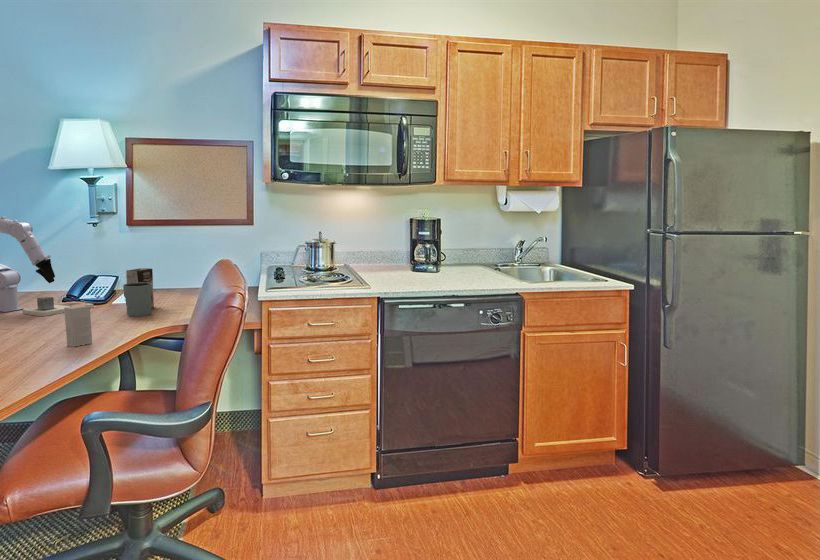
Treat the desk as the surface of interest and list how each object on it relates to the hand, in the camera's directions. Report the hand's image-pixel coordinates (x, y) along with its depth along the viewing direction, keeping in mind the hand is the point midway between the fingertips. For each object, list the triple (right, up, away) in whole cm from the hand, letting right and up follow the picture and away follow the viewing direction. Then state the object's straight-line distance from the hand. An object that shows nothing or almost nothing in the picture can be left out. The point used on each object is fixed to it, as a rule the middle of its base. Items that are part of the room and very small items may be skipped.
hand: (52, 280), depth 256 cm
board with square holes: (+1, -12, +3) cm, 12 cm away
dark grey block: (-1, -13, -2) cm, 13 cm away
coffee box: (+31, -12, +10) cm, 34 cm away
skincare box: (+38, -20, -53) cm, 68 cm away
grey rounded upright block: (+36, -14, -4) cm, 38 cm away
